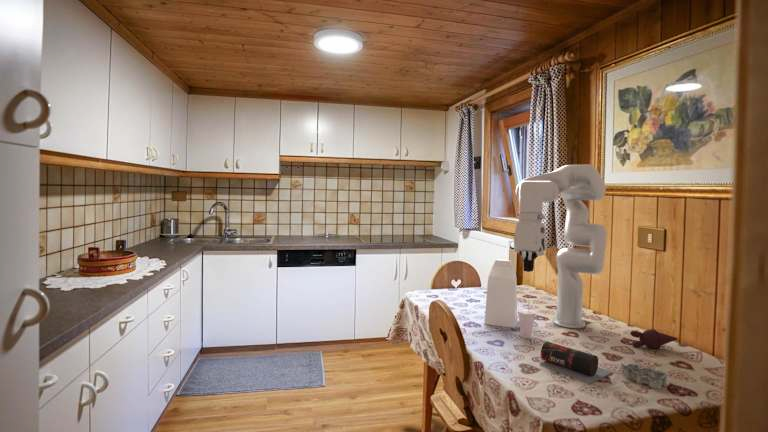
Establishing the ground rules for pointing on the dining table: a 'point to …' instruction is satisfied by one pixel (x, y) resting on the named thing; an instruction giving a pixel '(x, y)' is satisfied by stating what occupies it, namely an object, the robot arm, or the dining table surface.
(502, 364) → the dining table surface
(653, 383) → the egg carton
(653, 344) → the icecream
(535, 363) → the dining table surface
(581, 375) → the felt mat
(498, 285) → the milk
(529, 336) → the smoothie
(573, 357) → the deodorant
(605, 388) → the dining table surface
